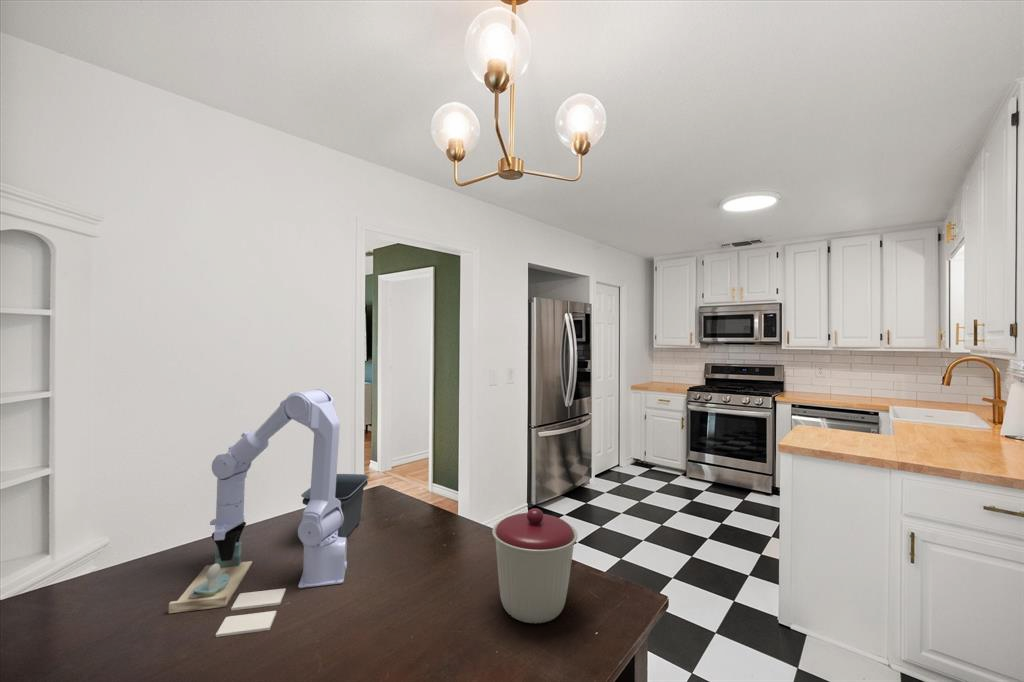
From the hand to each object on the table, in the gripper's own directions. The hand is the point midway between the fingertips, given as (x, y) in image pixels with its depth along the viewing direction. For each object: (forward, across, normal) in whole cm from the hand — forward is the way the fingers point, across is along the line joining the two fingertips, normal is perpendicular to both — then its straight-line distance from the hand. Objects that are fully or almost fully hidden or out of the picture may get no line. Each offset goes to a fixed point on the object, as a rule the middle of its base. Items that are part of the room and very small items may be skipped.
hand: (228, 557), depth 107 cm
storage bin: (+3, -15, +22) cm, 27 cm away
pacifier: (+2, +12, 0) cm, 12 cm away
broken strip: (+2, +21, +11) cm, 24 cm away
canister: (+3, +33, +67) cm, 75 cm away
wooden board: (+2, +8, 0) cm, 9 cm away
